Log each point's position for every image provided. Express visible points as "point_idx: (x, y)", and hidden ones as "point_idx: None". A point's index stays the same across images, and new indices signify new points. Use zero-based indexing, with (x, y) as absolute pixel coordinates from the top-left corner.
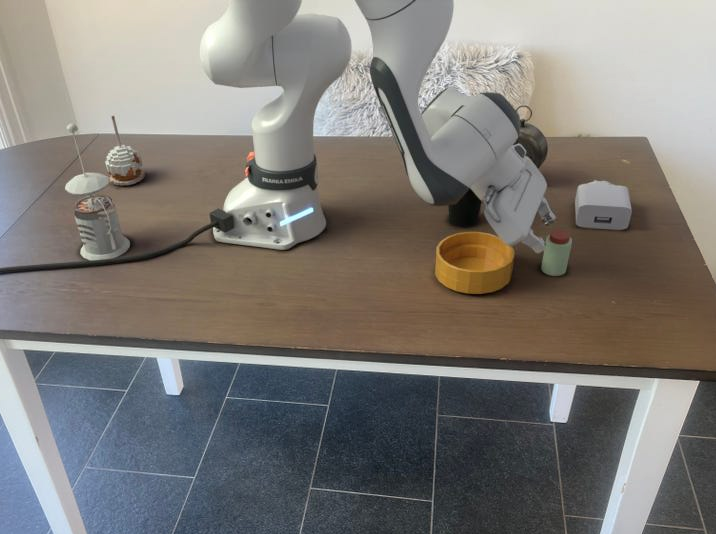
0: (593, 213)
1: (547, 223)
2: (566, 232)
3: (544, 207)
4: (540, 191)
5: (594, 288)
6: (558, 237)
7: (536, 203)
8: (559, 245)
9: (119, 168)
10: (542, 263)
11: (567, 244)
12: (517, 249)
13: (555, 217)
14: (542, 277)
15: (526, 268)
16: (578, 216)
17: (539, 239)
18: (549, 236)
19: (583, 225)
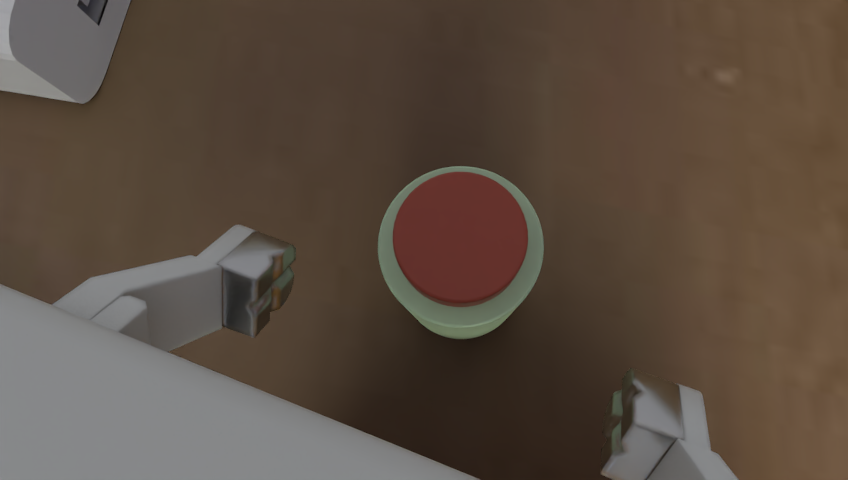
0: (62, 4)
1: (283, 290)
2: (432, 187)
3: (166, 303)
4: (43, 355)
5: (620, 129)
6: (502, 254)
7: (315, 458)
8: (537, 256)
9: None
10: (463, 337)
11: (524, 203)
12: None
13: (244, 227)
14: (531, 345)
15: (447, 412)
16: (54, 79)
17: (687, 443)
18: (416, 299)
19: (97, 74)
